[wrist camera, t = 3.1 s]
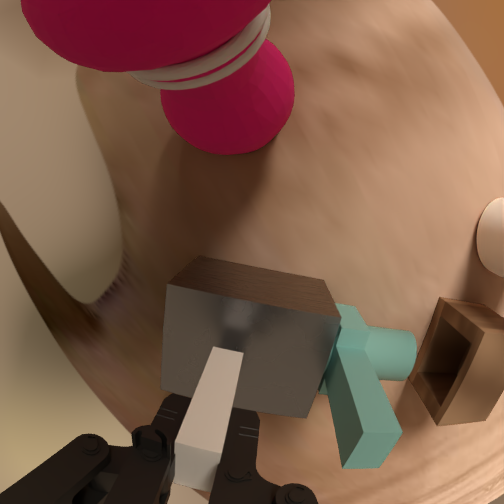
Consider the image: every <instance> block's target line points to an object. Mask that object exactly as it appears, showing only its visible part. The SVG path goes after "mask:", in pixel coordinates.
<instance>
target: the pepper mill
mask: <svg viewBox="0 0 504 504" xmlns="http://www.w3.org/2000/svg"><path fill="white" fill-rule="evenodd" d="M270 1H271V0H21V6H22V12H23V14H24V16H25V18H26V20H27V22H28V23H29V25H30V27H31V29H32V30H33V32H34V34H35V35H36V37H37V38H38V39H40V40H41V41H42V42H43V43H44V44H45V45H47V46H48V47H49V48H50V49H52V50H53V51H54V52H55V53H56V54H58V55H60V56H61V57H63V58H64V59H66V60H68V61H70V62H72V63H75V64H78V65H81V66H85V67H89V68H92V69H96V70H100V71H103V72H127V73H129V74H130V75H131V76H132V77H134V78H135V79H136V80H138V81H139V82H141V83H143V84H146V85H148V86H151V87H154V88H157V89H161V91H160V94H161V102H162V106H163V110H164V112H165V115H166V117H167V119H168V121H169V123H170V125H171V126H172V128H173V129H174V130H175V131H176V132H177V133H178V134H179V135H180V136H181V137H182V138H183V139H184V140H186V141H187V142H188V143H190V144H191V145H193V146H194V147H196V148H198V149H201V150H203V151H206V152H210V153H213V154H222V155H231V154H243V153H248V152H252V151H255V150H257V149H259V148H261V147H263V146H264V145H266V144H267V143H268V142H269V141H270V140H272V139H273V138H274V136H275V135H276V134H277V133H278V132H279V131H280V130H281V129H282V127H283V126H284V125H285V123H286V122H287V120H288V118H289V116H290V114H291V111H292V107H293V103H294V96H295V95H294V81H293V76H292V72H291V69H290V67H289V65H288V63H287V61H286V59H285V58H284V57H283V55H282V54H281V52H280V51H279V50H278V49H277V47H276V46H275V45H273V44H272V43H271V42H270V41H269V40H267V39H266V36H267V33H268V31H269V27H270V21H271V12H270Z"/></svg>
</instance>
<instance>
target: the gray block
mask: <svg viewBox="0 0 504 504" xmlns="http://www.w3.org/2000/svg"><path fill="white" fill-rule="evenodd" d="M341 318H342V317H341V315H340V313H339V311H338V309H337V307H336V305H335V303H334V300H333V298H332V296H331V294H330V292H329V290H328V288H327V286H326V284H325V282H324V280H321V279H315V278H310V277H305V276H299V275H294V274H289V273H284V272H278V271H273V270H268V269H263V268H258V267H252V266H247V265H242V264H237V263H232V262H227V261H222V260H217V259H212V258H207V257H202V256H198V257H197V258H196V259H194V260H193V261H192V262H191V263H190V264H189V265H188V266H186V267H185V268H184V269H183V270H182V271H181V272H180V273H178V274H177V275H176V276H175V277H174V278H173V279H172V280H171V281H169V282H168V283H167V289H166V301H165V313H164V327H163V343H162V362H161V390H165V391H168V392H172V393H175V394H179V395H183V396H187V397H191V398H193V396H194V393H195V391H196V388H197V386H198V383H199V381H200V378H201V376H202V373H203V371H204V368H205V366H206V363H207V361H208V358H209V356H210V353H211V351H212V349H213V347H218V348H222V349H227V350H232V351H236V352H241V353H243V358H242V363H241V368H240V372H239V377H238V382H237V387H236V392H235V396H234V401H233V406H232V407H236V408H241V409H246V410H252V411H257V412H263V413H269V414H276V415H283V416H290V417H298V418H307V416H308V413H309V411H310V408H311V406H312V403H313V400H314V398H315V395H316V392H317V390H318V387H319V384H320V382H321V379H322V376H323V373H324V370H325V368H326V365H327V362H328V359H329V356H330V353H331V350H332V347H333V344H334V341H335V338H336V334H337V331H338V328H339V325H340V321H341Z"/></svg>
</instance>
